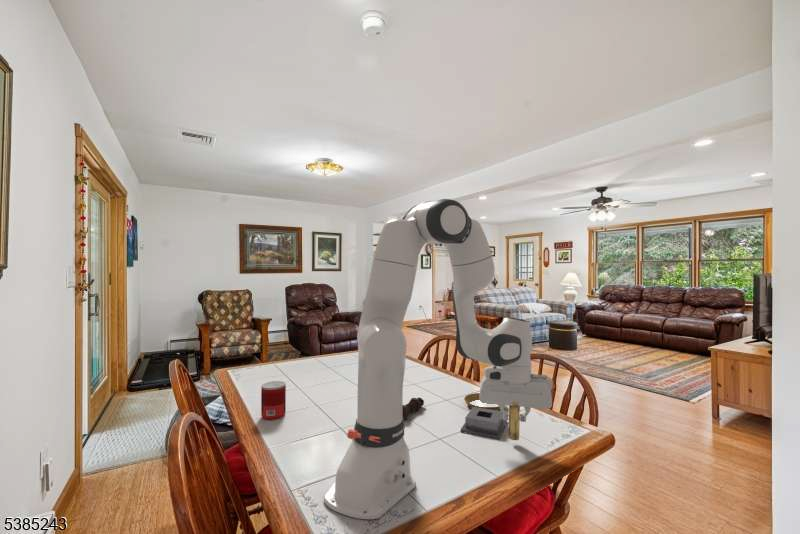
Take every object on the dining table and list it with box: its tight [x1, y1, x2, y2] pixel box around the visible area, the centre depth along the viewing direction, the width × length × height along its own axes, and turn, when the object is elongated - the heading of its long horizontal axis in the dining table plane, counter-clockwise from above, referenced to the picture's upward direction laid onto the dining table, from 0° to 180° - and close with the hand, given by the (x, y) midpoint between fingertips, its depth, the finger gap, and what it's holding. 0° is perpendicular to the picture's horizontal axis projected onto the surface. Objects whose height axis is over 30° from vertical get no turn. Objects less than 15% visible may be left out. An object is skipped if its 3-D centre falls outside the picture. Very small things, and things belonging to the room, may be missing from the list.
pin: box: [508, 402, 521, 441], centre depth 107 cm, size 4×4×11 cm
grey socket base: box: [460, 407, 508, 441], centre depth 119 cm, size 14×12×4 cm
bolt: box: [402, 397, 425, 422], centre depth 130 cm, size 6×5×15 cm
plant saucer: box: [463, 392, 500, 411], centre depth 137 cm, size 15×15×3 cm
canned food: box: [260, 380, 287, 421], centre depth 127 cm, size 8×8×11 cm
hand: (514, 420), depth 107 cm, fingers closed on pin, 3 cm apart
